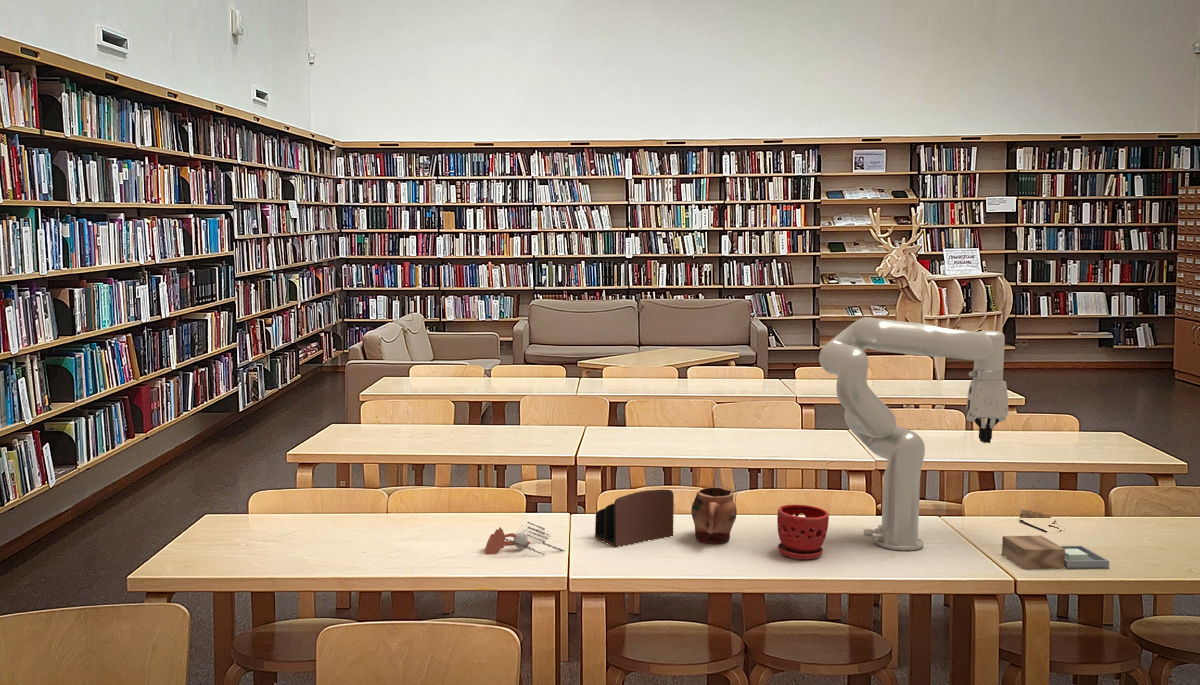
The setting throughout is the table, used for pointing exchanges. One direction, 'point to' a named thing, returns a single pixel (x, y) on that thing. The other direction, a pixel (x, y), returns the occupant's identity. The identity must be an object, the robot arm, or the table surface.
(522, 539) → the brown and grey pieces
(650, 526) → the letter holder
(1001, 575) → the table surface
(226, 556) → the table surface
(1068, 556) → the tile
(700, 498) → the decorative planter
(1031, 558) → the brown wooden box
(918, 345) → the robot arm
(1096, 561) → the box
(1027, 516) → the wooden fragment
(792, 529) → the plant pot
